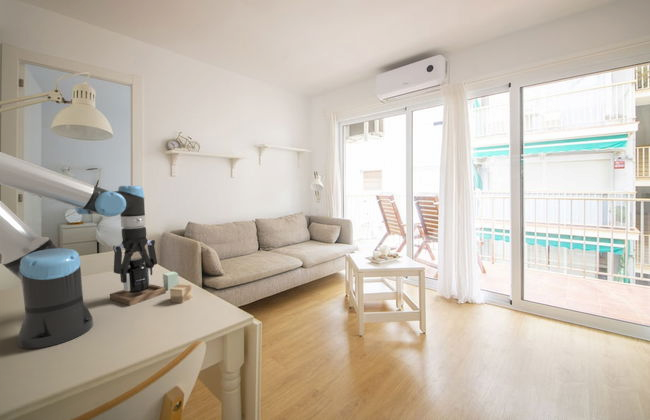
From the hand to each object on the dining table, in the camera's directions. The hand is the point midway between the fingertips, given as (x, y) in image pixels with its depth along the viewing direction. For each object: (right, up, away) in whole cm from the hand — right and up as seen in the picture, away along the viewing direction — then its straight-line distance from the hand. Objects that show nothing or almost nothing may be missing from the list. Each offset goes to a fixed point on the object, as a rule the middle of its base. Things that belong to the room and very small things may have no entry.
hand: (137, 287), depth 104 cm
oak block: (+18, -4, -3) cm, 19 cm away
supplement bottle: (0, -1, 0) cm, 1 cm away
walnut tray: (0, -3, 0) cm, 4 cm away
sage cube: (+8, -3, +9) cm, 12 cm away
